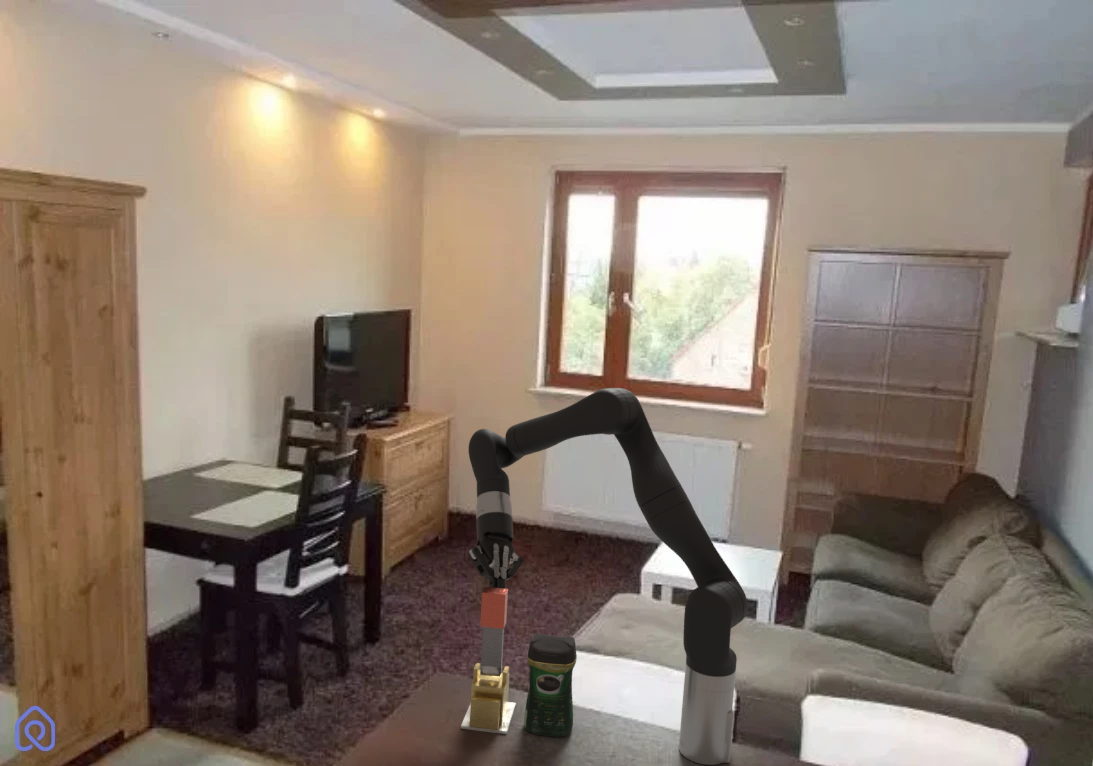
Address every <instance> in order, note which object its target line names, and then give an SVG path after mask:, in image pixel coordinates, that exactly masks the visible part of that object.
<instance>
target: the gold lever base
mask: <svg viewBox="0 0 1093 766" xmlns="http://www.w3.org/2000/svg"><path fill="white" fill-rule="evenodd" d="M473 667H474V668H473V673H472V674H473V676H472V679H473V681H472V684H471V689H470V690H471V691H470V694H471V695H470V703H469V706H468V708H467V711H466V713H465V715H464V717H463V719H462V720H463V721H462V723H461V725H460V729H461V730H469V731H470V730H471V731H477V732H487V733H492V734H493V733H494V734H500V735H501V734H503V735H508V731H509V728H510V725H511V722H512V719H513V715H514V712H515V709H516V705H517V702H511V701H509V690H510V689H509V688H510V666H508V665H507V666H504V667H503V668H504V669H502V675H501V677H494V676H485V675H480V669H481V662H480V663H475V665H474V666H473Z"/></svg>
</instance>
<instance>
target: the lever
mask: <svg viewBox="0 0 1093 766" xmlns="http://www.w3.org/2000/svg"><path fill="white" fill-rule="evenodd" d="M508 593H509V588H505V589H502V588H493V587H489V586H484V588H483V590H482V592H481V608H480V627H482V635H481V638H482V639H481V658H480V661H481V662H480V675H485V676H494V677H501V675H502V673H503V657H504V656H503V655H504V654H503V651H504V635H505V634H504V633H505V631H504V630H505V626H506V625H507V615H508V614H507V613H508V595H509V594H508Z"/></svg>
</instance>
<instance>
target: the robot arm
mask: <svg viewBox="0 0 1093 766" xmlns="http://www.w3.org/2000/svg"><path fill="white" fill-rule="evenodd" d="M600 434H601V435H614V437H615V439H616V440H617V441H618V443H619V445H620V447H621V449H622V450H623V452H624V454H625V456H626V458H627V461H628V464H629V468H630V473H631V482H632V488H633V490H632V491H633V495H634V497H635V500H636V503H637V505H638V507H639V510H640V511H641V513H642V515H643V516H644V518H645V521H646V522H647V524H648V526H649V528H650V529H651V531H652V532H653V534H654V535H656V537H657V538H658V539H659V540H660V541H662V543H663V544H664V545H665V546H667V547H668V548H669V549H670V550H671V551H672V552H674V554H676V555H677V557H679V558H680V560H682V562H683V563H684V564H685V565H686V567H687V568H688V570H689V572H690V574H691V576H692V578H693V580H694V582H695V584H696V585H697V587H696V588H694V589H693V590H692V591H690V593H689V594H688V596H687V598H686V602H685V607H684V613H683V614H684V615H683V616H684V618H683V622H684V623H683V638H682V639H683V640H682V641H683V649H684V652H685V657H686V658H685V669H684V678H683V679H684V681H683V682H684V683H683V691H682V693H683V694H682V704H681V706H682V707H681V717H680V730H679V737H678V738H679V739H678V740H679V742H678V749H679V752H680V754H681V755H682V756H683V757H684V758H686V759H688V761H689V760H690V761H691V762H694V763H697V764H701V765H707V766H714V765H719V764H724V763H725V764H726V763H727V764H729V763H730V760H731V751H732V737H733V727H734V715H735V714H734V710H733V704H734V695H735V681H736V671H737V661H738V660H737V659H738V658H737V654H736V652H735V650H733V649H732V648H731V647H730V646H731V633H732V632H731V631H732V630H731V629H732V628H734V627H735V626H737V625H738V624H740V623H741V622H742V621H743V620H745V617H746V616H747V614H748V606H749V605H748V604H749V603H748V599H747V596H746V593H745V591H744V589H743V588H742V586H741V584H740V582H739V581H738V579H737V578H736V576H735V575H734V574H733V572H732V571H731V569H730V568H729V566H728V565H727V563H726V562H725V560H724V559H723V557H722V556H721V554H720V553H719V551H718V550H717V548H716V547H715V545H714V543H713V542H712V539H711V537H710V536H709V534H708V532H707V530H706V529H705V527H704V525H703V523H702V522H701V520H700V518H699V516H698V514H697V513H696V510H695V508H694V506H693V505H692V502H691V501H690V499H689V497H688V495H687V493H686V492H685V489H684V488H683V486H682V484H681V482H680V481H679V478H678V477H677V476H676V474H675V472H674V470H673V469H672V467H671V465H670V463H669V461H668V458H666V456H665V454H664V453H663V451H662V449H661V447H660V446H659V443H658V441H657V440H656V437H655V435H654V433H653V429H652V428H651V425H650V423H649V420H648V419H647V416H646V414H645V411H644V409H643V405H642V404H641V402H640V401H639V398H637V396H636V395H635V394H634V393H633V392H632V391H630V390H628V389H626V388H622V387H612V388H611V387H608V388H601V389H598V390H596V391H595V392H593V393H591V394H588V395H587V396H586V397H584V398H582V399H580V400H578V401H577V402H575V403H573V404H571V405H568V406H567V407H565V408H562V409H560V410H558V411H555V412H551V413H548V414H544V415H542V416H541V415H540V416H538V417H535V418H532V419H531V418H530V419H528V420H525V421H522V422H518V423H516V424H514V425H512V426H510V427H508V428H507V430H506V432H505V437H503V436H501V435H499V434H498V433H496V432H495V431H493V430H490V429H487V428H480V429H479V430H478V429H477V430H476V431H475V432H474V433H473V434H472V435H471V437H470V439H469V442H468V456H469V461H470V464H471V468H472V472H473V475H474V478H475V481H476V506H475V509H476V510H475V513H476V515H475V517H476V519H475V520H476V539H477V542H476V546H475V547H473V548H472V549H471V548H470V549H469V551H467V553H466V554H467V556H468V558H469V559H470V561H471V563H472V564H473V566H474V568H475V569H476V570H477V572H478V573H479V575H480V577H482V578H486V579H487V580H488V583H489V586H488V587H493V588H502V589H506V581H508V580H509V579H512V578H513V577H514V576H515V574H516V573H517V572H518V570H519V569H520V567H521V566H522V564H523V563H524V561H525V559H524V557H523V556H518V555H517V553H516V552H515V547H514V545H513V539H514V524H513V507H512V502H511V491H510V480H509V476H508V473H506V471H505V470H503V469H505V468H508V467H510V466H512V465H513V464H515V463H516V462H518V461H519V460H521V459H522V458H524V457H525V456H528V455H532V454H535V453H538V452H542V451H544V450H546V449H549V448H552V447H554V446H556V445H558V444H560V443H562V442H565V441H567V440H570V439H574V438H577V437H583V436H592V435H600Z"/></svg>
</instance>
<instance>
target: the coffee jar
mask: <svg viewBox="0 0 1093 766" xmlns="http://www.w3.org/2000/svg"><path fill="white" fill-rule="evenodd" d="M576 646H577V645H576V640H575V637H573V636H568V637H567V636H561V635H560V636H559V635H549V634H539V633H534V634H533V635H532V637H531V639H530V642H529V645H528V651H527V654H526V655H527V656H526V660H527V664H528V667H529V681H528V689H527V697H526V703H525V709H524V719H523V721H524V722H523V726H524V728H525V730H526V731H527V732H529V733H531V734H533V735H538V736H545V737H556V738H557V737H560V738H561V737H565V736H567V735H568V734H570V733H571V731H572V729H573V726H574V707H573V706H574V704H573V671H574V668H575V665H576V663H577V659H578V658H577V657H578V656H577V647H576Z"/></svg>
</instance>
